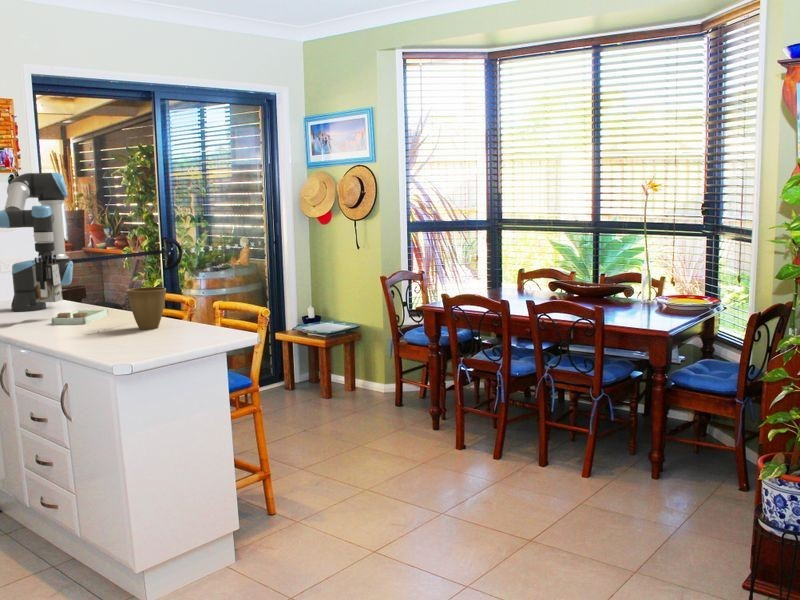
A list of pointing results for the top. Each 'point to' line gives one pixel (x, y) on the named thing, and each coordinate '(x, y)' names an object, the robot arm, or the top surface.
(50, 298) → the coffee box
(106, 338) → the top surface
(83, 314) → the walnut block
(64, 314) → the walnut block
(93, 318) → the tray
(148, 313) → the plant pot
